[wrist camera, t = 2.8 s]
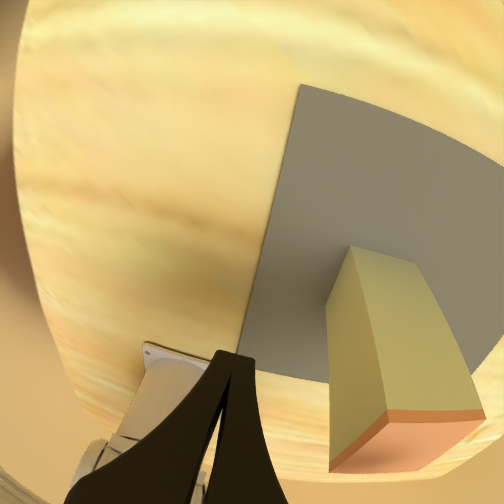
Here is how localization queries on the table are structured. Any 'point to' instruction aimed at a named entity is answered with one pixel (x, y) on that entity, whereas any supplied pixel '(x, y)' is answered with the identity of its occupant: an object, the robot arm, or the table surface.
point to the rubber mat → (374, 229)
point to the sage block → (392, 370)
